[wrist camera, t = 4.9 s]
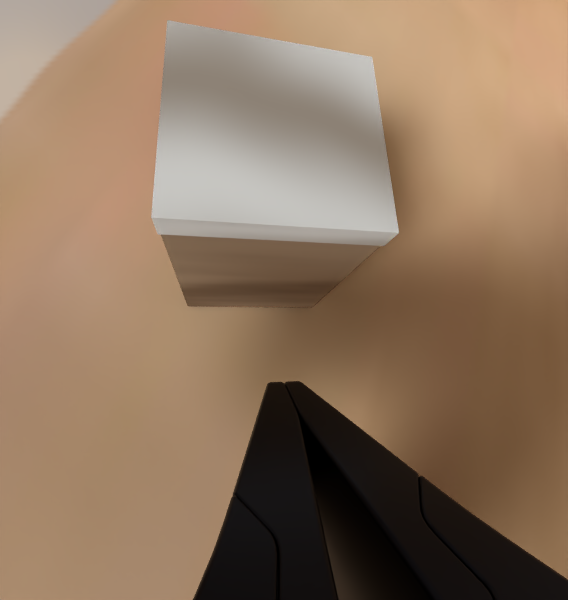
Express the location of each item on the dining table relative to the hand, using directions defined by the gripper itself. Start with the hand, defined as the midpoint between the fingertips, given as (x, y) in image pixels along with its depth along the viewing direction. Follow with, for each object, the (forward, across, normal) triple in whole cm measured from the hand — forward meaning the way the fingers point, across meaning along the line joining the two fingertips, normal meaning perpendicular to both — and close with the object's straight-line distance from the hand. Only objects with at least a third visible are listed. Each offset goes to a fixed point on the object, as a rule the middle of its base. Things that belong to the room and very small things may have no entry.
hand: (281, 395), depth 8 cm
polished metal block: (+10, 0, 0) cm, 10 cm away
